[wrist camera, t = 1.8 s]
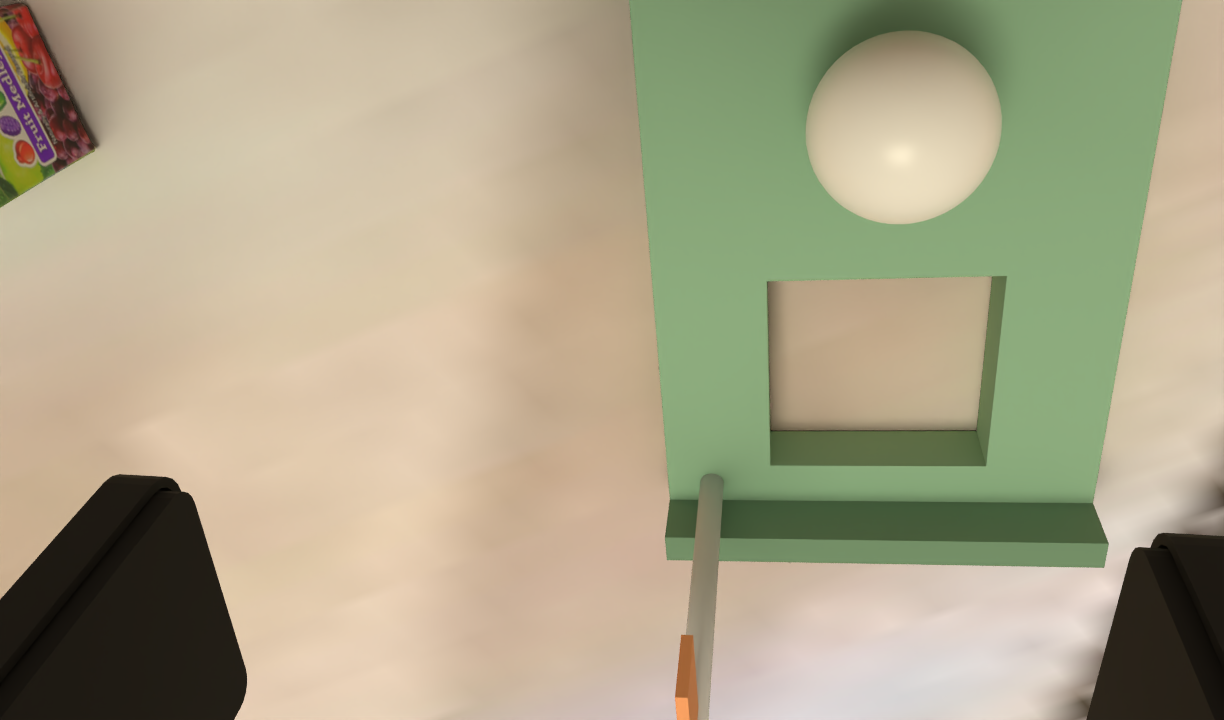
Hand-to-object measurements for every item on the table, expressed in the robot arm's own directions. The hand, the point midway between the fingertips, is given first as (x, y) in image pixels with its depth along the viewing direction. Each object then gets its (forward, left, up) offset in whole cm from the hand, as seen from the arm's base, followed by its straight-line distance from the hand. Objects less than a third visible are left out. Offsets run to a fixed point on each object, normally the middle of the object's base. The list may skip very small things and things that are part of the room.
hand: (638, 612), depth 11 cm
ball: (+2, +4, -19) cm, 20 cm away
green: (+4, +4, -24) cm, 24 cm away
